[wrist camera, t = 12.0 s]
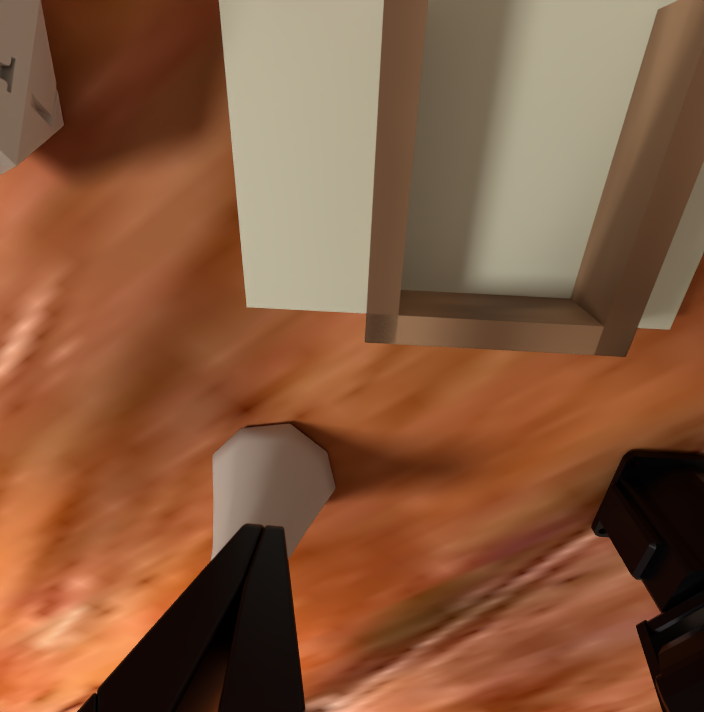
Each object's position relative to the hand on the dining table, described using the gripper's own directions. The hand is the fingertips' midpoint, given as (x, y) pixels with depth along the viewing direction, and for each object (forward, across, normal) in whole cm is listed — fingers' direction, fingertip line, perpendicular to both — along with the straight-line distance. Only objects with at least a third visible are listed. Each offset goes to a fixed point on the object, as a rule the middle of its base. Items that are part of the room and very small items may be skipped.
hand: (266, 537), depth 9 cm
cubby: (+12, -7, -6) cm, 15 cm away
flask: (+13, +3, +11) cm, 17 cm away
